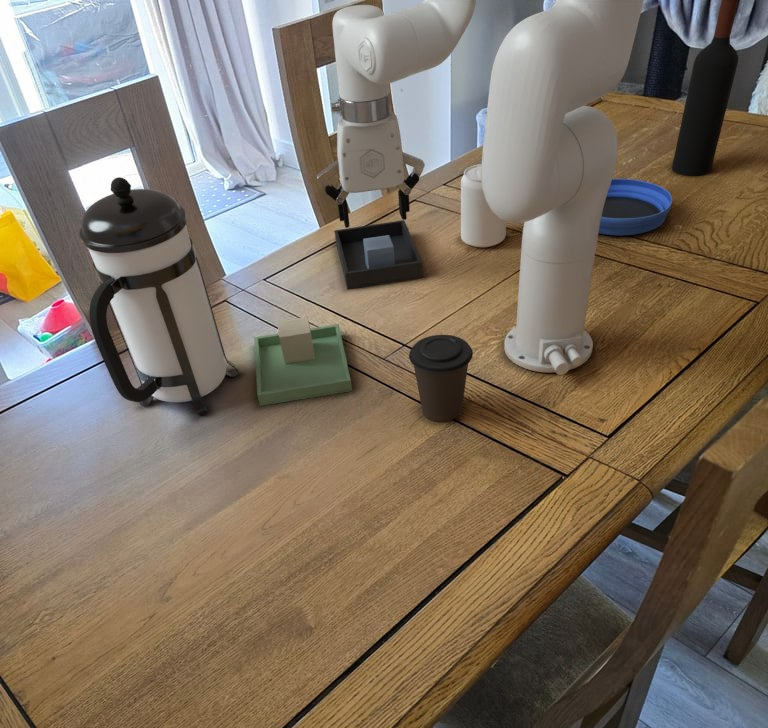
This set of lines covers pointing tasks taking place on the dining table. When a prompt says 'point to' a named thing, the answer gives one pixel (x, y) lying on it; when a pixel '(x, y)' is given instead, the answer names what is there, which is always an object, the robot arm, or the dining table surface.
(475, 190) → the beverage can
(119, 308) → the coffee press
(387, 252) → the bluegrey block
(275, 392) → the dish
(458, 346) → the coffee cup
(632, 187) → the bowl
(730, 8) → the wine bottle
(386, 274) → the black tray
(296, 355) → the cream block
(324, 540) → the dining table surface
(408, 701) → the dining table surface
